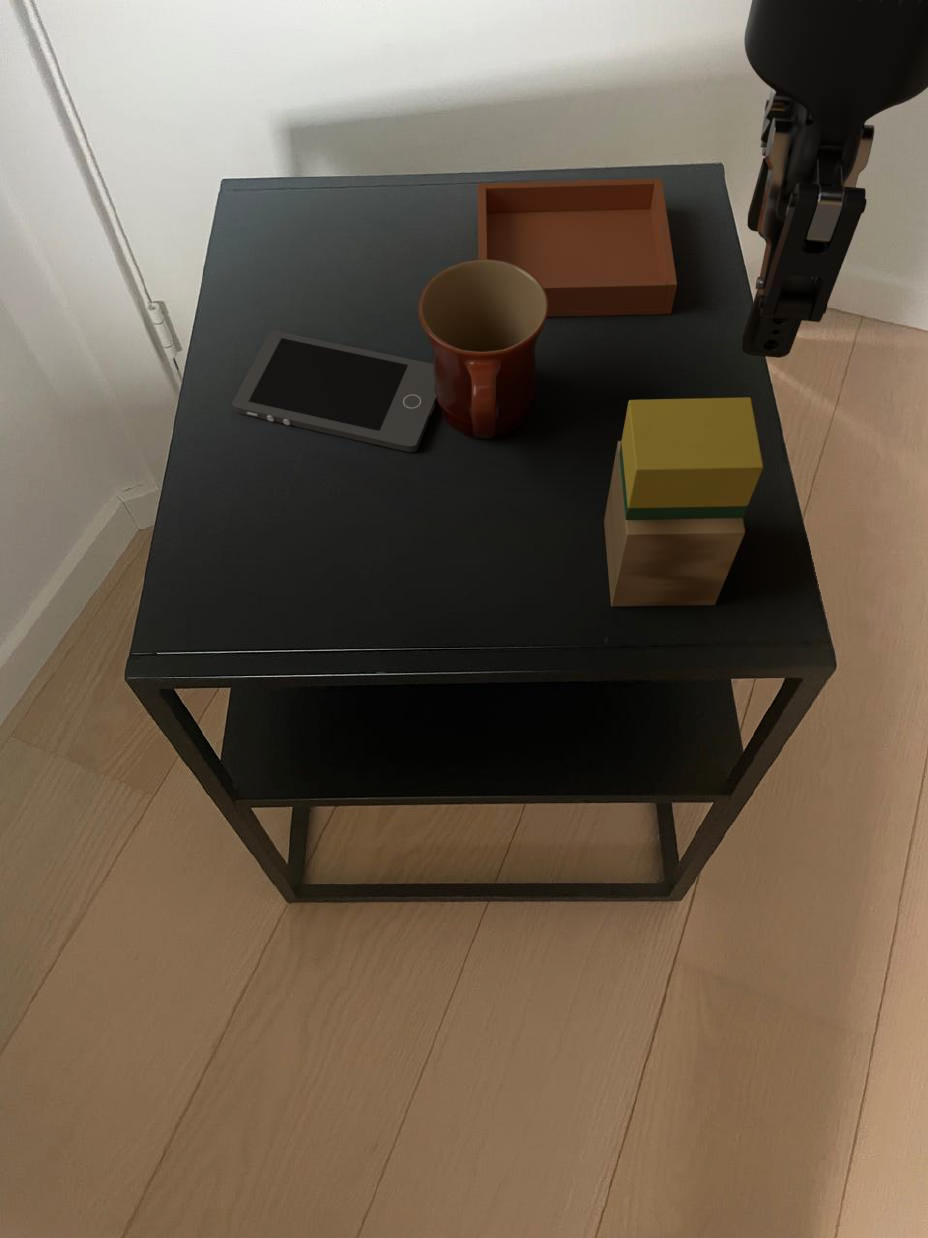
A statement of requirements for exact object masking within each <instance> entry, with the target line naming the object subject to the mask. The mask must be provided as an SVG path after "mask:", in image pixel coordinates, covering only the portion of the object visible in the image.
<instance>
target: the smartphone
mask: <svg viewBox="0 0 928 1238" xmlns="http://www.w3.org/2000/svg"><path fill="white" fill-rule="evenodd" d="M434 383H435V381H434V365H433V363H432V362H431V363H430V362H427V361H421V360H416V359H413V358H412V359H411V358H407V357H403V356H397V355H394V354H388V353H385V352H384V353H383V352H379V351H374V350H369V349H364V348H361V347H360V348H359V347H356V346H355V347H354V346H350V345H347V344H341V343H335V342H332V341H326V340H322V339H316V338H312V337H308V336H302V335H298V334H293V333H288V332H284V331H278V330H273V331H272V330H271V331H270V332H268V334H267V336H266V338H265V340H264V342H263V343H262V345H261V347H260V349H259V351H258V353H257V355H256V357H255V359H254V361H253V362H252V364H251V366H250V368H249V370H248V372H247V374H246V375H245V377H244V379H243V381H242V383H241V385H240V386H239V389H238V391H237V392H236V393H235V396H234V398H233V400H232V401H231V404H232V407H233V410H234V412H235V413H238V414H240V415H244V416H249V417H252V418H253V417H254V418H258V419H262V420H266V421H269V422H275V423H279V424H283V425H286V426H292V427H293V426H294V427H296V428H302V429H305V430H310V431H315V432H319V433H323V434H328V435H332V436H337V437H341V438H346V439H348V440H349V439H350V440H354V441H358V442H363V443H368V444H371V445H377V446H381V447H386V448H389V449H394V450H398V451H402V452H406V453H414V452H417V451H418V449H419V447H420V444H421V442H422V440H423V437H424V434H425V432H426V429H427V428H428V425H429V422H430V419H431V417H432V416H433V413H434V410H435V408H436V406H437V403H438V400H437V398H436V395H435V390H434Z"/></svg>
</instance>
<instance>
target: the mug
mask: <svg viewBox="0 0 928 1238" xmlns="http://www.w3.org/2000/svg"><path fill="white" fill-rule="evenodd" d="M548 310H549V303H548V298H547V294H546V292H545V290H544V288H543V286H542V285H541V283H540V282H539V281H538V280H537V279H536V278H535V277H534V276H533V275H532V274H531V273H529V272H528V271H526V270H525V269H523V268H521V267H519V266H517V265H514V264H511V263H508V262H504V261H499V260H491V259H479V258H478V259H472V260H465V261H462V262H458V263H456V264H453V265H451V266H448V267H446V268H445V269H442V270H441V271H440V272H438V273H436V275H435V276H433V277H432V278H431V279H430V280H429V281H428V282H427V284H426V285H425V286H424V288H423V290H422V292H421V294H420V296H419V300H418V309H417V311H418V318H419V321H420V325H421V326H422V328H423V330H424V332H425V334H426V336H427V337H428V340H429V342H430V345H431V348H432V353H433V354H432V357H433V360H432V361H433V362H432V364H433V365H434V381H435V383H434V390H435V395H436V398H437V403H438V406H439V409H440V412H441V415H442V416H443V418H444V419H445V421H446V422H447V423H448V425H450V426H451V427H452V428H454V430H456V431H458V432H459V433H462V434H463V435H465V436H469V437H473V438H476V439H480V440H489V439H493V438H495V437H500V436H501V437H502V436H504V435H506V434H508V433H509V432H512V431H513V430H514V429H516V428H517V427H519V426H520V425H521V424H522V423H523V422H524V420H525V419H526V418H527V416H528V414H529V412H530V409H531V406H532V404H533V400H534V397H535V393H536V385H537V383H536V367H537V366H536V365H537V364H536V346H537V341H538V339H539V338H540V335H541V332H542V331H543V328H544V326H545V324H546V323H547V319H548V317H547V316H548Z"/></svg>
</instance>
